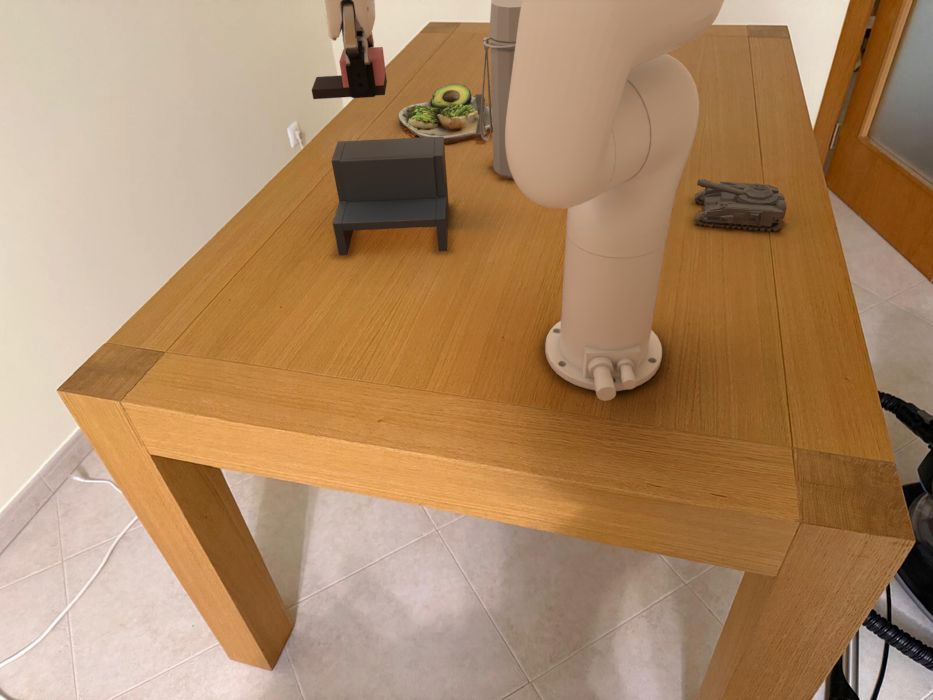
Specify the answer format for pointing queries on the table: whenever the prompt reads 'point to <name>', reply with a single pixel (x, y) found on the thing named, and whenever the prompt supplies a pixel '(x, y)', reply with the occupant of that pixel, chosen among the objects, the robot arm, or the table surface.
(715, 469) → the table surface
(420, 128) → the salad plate
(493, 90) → the water bottle
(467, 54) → the table surface
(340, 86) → the pink cube on slab
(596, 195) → the robot arm
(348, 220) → the bench
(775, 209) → the tank toy
